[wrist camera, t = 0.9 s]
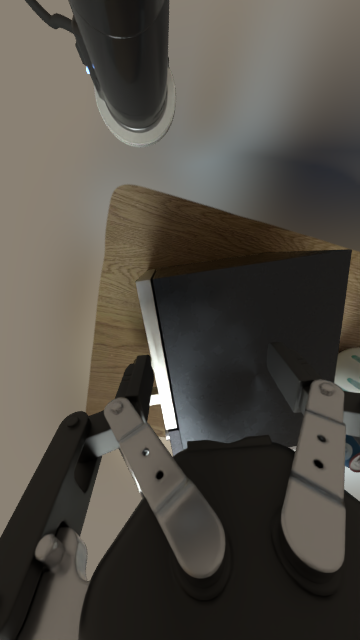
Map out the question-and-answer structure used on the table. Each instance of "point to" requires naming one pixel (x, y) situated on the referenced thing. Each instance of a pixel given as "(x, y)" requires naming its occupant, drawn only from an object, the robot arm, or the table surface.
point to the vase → (348, 370)
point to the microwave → (246, 338)
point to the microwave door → (156, 349)
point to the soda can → (352, 454)
